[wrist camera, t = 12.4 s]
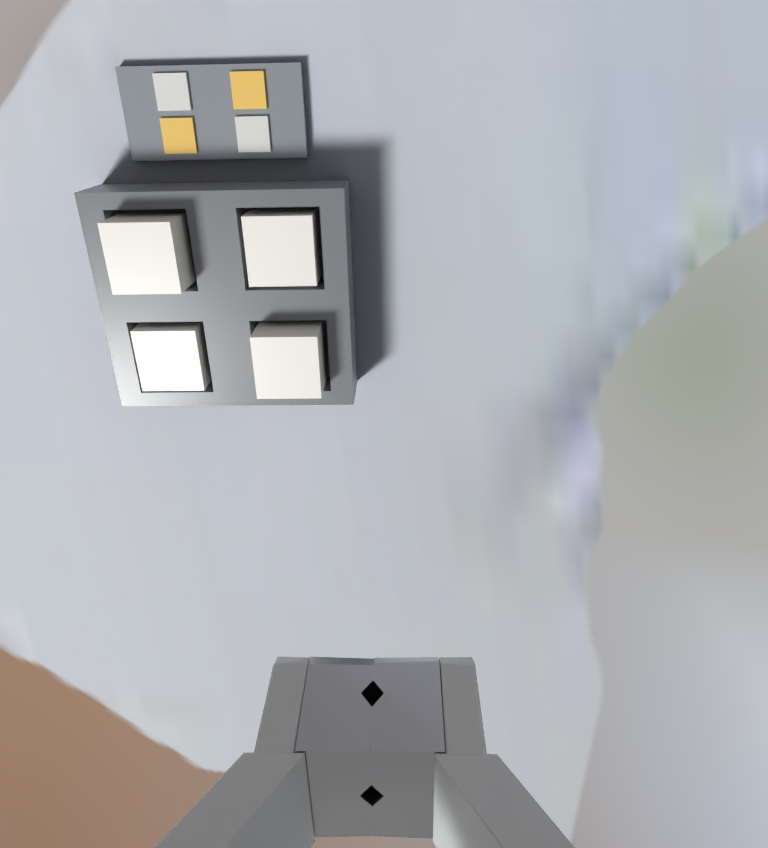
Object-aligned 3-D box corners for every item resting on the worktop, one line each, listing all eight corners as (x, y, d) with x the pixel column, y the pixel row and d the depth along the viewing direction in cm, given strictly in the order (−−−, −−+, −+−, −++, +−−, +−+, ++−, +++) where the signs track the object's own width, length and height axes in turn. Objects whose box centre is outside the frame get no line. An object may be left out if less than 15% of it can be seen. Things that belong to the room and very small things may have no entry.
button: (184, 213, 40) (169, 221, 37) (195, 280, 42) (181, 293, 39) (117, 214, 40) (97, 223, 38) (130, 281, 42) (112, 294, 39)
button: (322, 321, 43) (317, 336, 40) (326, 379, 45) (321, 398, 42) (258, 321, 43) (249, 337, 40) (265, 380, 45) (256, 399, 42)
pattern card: (301, 62, 39) (300, 62, 38) (308, 156, 41) (306, 158, 41) (119, 66, 39) (113, 66, 38) (135, 160, 42) (131, 161, 41)
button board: (348, 179, 42) (343, 188, 38) (357, 380, 48) (353, 404, 45) (101, 184, 42) (74, 193, 39) (142, 382, 49) (122, 406, 45)
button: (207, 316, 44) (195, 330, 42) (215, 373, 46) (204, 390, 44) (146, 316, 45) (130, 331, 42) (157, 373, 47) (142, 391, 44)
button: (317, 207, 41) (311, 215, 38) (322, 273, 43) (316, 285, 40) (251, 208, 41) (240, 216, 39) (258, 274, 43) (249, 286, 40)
